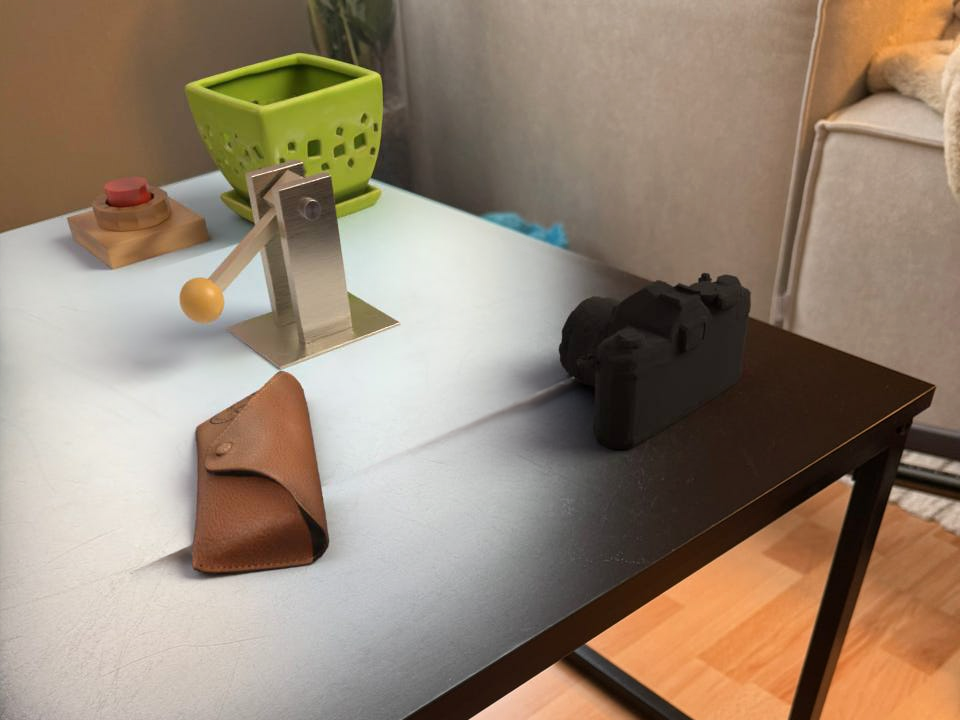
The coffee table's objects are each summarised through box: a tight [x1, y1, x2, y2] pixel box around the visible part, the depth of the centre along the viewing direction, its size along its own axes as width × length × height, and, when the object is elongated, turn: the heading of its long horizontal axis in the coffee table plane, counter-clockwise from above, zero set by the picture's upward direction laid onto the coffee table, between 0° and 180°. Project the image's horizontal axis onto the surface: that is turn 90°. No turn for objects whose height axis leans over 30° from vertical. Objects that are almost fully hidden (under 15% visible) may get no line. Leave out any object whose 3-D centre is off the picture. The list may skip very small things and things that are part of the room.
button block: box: [66, 185, 210, 270], centre depth 98 cm, size 10×10×4 cm
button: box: [103, 176, 152, 208], centre depth 96 cm, size 4×4×2 cm
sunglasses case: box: [191, 370, 330, 575], centre depth 65 cm, size 18×7×7 cm
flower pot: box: [184, 52, 384, 224], centre depth 97 cm, size 14×14×13 cm
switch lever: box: [178, 170, 303, 324], centre depth 74 cm, size 13×3×3 cm
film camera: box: [558, 272, 752, 450], centre depth 70 cm, size 15×10×9 cm, turn 133°
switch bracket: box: [225, 159, 401, 371], centre depth 78 cm, size 11×9×13 cm
